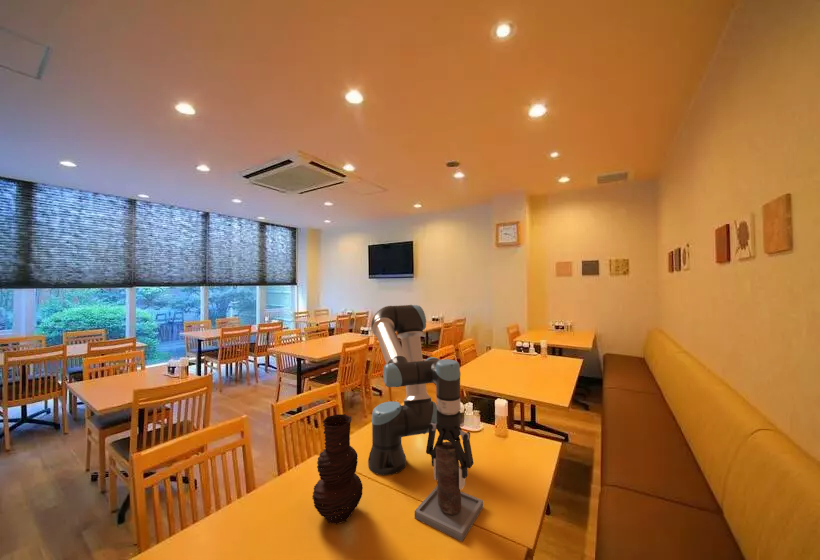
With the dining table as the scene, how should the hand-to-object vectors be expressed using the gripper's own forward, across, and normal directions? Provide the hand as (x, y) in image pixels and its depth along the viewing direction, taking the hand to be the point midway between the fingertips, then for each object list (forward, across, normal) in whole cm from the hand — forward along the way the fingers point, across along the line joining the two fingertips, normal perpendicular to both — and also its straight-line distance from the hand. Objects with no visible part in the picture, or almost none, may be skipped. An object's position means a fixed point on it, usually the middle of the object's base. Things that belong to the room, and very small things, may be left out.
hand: (449, 481), depth 100 cm
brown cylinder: (+8, 0, 0) cm, 8 cm away
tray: (+10, 0, 0) cm, 10 cm away
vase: (+10, -29, -20) cm, 37 cm away
